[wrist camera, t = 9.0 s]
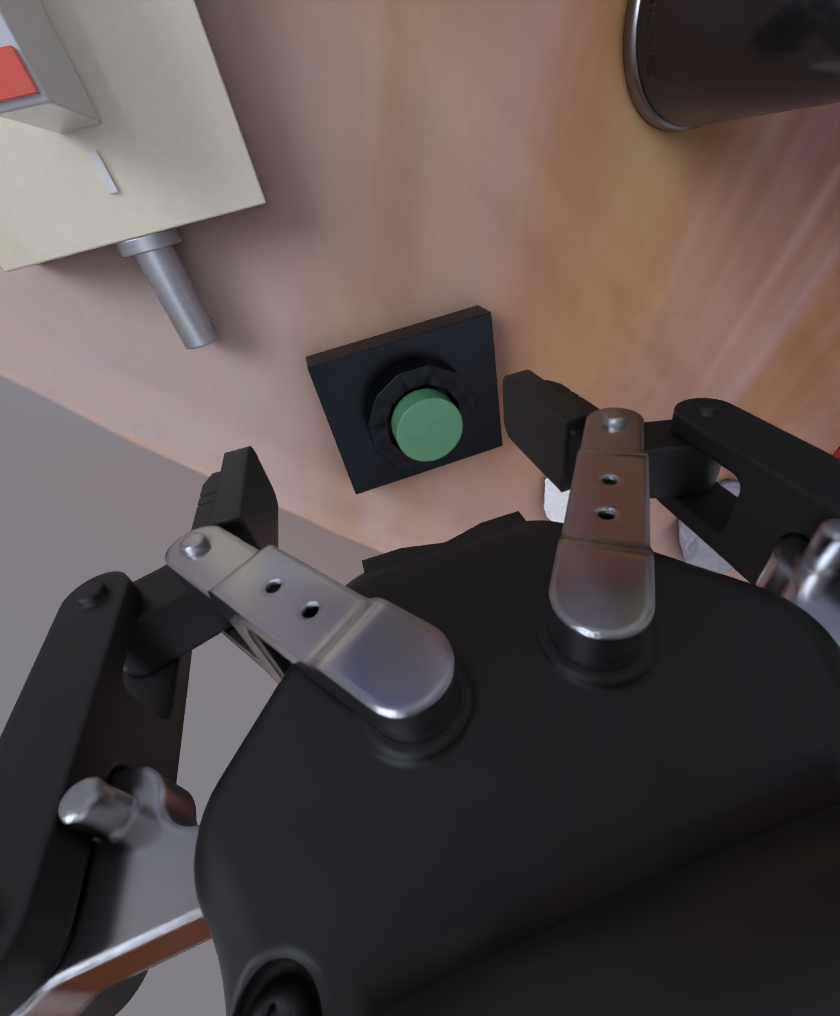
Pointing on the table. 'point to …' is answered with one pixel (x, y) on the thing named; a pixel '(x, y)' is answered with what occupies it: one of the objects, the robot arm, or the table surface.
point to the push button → (426, 424)
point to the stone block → (697, 548)
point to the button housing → (397, 372)
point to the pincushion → (555, 502)
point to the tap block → (126, 137)
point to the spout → (171, 285)
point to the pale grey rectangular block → (38, 72)
